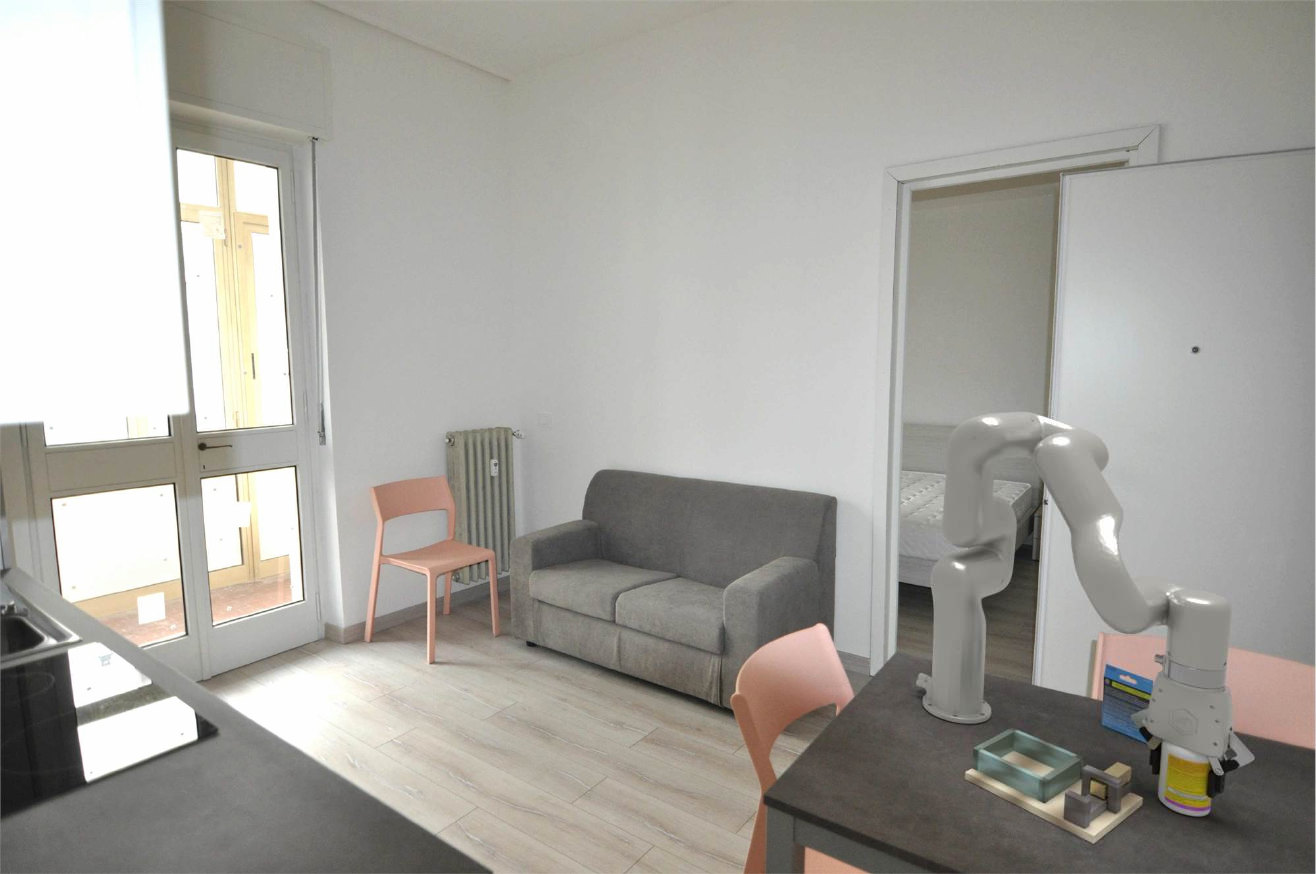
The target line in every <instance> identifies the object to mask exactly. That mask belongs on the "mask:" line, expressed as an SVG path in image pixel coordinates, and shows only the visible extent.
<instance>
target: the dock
mask: <svg viewBox="0 0 1316 874" xmlns="http://www.w3.org/2000/svg"><path fill="white" fill-rule="evenodd" d="M1084 759H1085V758H1084V757H1083V756H1080V755H1079V754H1076V753H1073V752H1072V751H1069V750H1066V749H1064V748H1062V747H1059V746H1057V745H1055V744H1052V743H1051V742H1049V741H1048V742H1047V741H1045V740H1042V739H1041V738H1038V737H1035V736H1033V735H1031V734H1029V733H1026V732H1024V731H1021V730H1018V729H1017V728H1014V727H1010V728H1009V729H1006V730H1005V731H1003V732H1001V733H999V734H997V735H995V736H993V737H992V738H990V739H987V740H986V741H983V742H982V743H980V744H979V745H976V746H975V747H973V748H972V765H971V768H970V769H969V770H966V771H965V773H964V780H966V781H968V782H970V783H972V784H974V785H976V786H978V787H979V788H982V789H984V790H985V791H987V792H989V793H992V794H994V795H996V796H998V797H999V798H1002V799H1003V800H1005V801H1007V802H1010V803H1012V804H1014V805H1015V806H1018V807H1020V808H1021V809H1023V810H1026V811H1027V812H1030V813H1031V814H1033V815H1035V816H1038V817H1039V818H1041V819H1043V820H1045V821H1047V822H1050V823H1051V824H1053V825H1055V826H1057V827H1058V828H1061V829H1063V830H1065V831H1067V832H1069V833H1071V834H1073V835H1075V836H1077V837H1079V838H1081V839H1082V840H1085V841H1087V842H1089V843H1091V844H1093V845H1094V844H1095V843H1097V842H1098V841H1100V840H1101V839H1102V838H1103V837H1104V836H1105V835H1107V834H1108V833H1109V832H1111V831H1112V830H1113V829H1115V828H1116V827H1117V826H1118V825H1119V824H1121V822H1123V821H1124V820H1125V819H1127V818H1128V817H1130V815H1132V814H1133V813H1134V812H1136V811H1137V810H1138V809H1139V808H1141V807H1142V806H1143V800H1144V797H1142V796H1140V795H1138V794H1136V793H1134V792H1131V784H1132V783H1131V782H1130V781H1128V782H1127V783H1126V784H1124V785H1123V786H1122V783H1123V780H1122V779H1120V778H1117V777H1115V776H1113V775H1110V774H1108V773H1105V772H1104V771H1103V770H1100V769H1098V768H1096V767H1093V766H1091V765H1089V764H1087V765H1085V766H1084ZM1094 778H1095V779H1097V780H1099V781H1102V782H1104V783H1106V784H1108V785H1109V790H1108V797H1107V798H1105V799H1103V798H1100V797H1098V796H1096V795H1094V794H1091V793H1090V787H1091V780H1092V779H1094Z"/></svg>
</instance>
